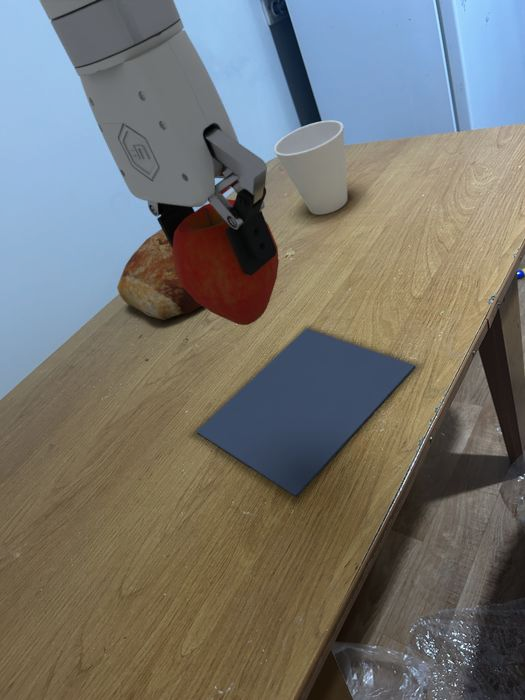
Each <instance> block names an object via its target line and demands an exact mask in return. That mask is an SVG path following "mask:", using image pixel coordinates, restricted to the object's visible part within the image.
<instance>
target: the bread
mask: <svg viewBox="0 0 525 700" xmlns="http://www.w3.org/2000/svg"><path fill="white" fill-rule="evenodd" d="M116 288H117V292H118V294H119V295H120V298H121V299H122V300H123V301H124V303H126V304H128V305H130V306H131V307H133V308H135V309H137V310H138V311H140V312H141V313H144V314H145V315H147V316H148V317H151V318H155V319H159V320H161V321H165V320H168V319H170V318H173V317H175V316H181V315H185V314H188V313H189V314H190V313H191V312H193V311H195V310H197V309H199V308H200V307H203V306H202V305H200V304H199V303H197V302H196V301H195V300H194V299H193V297H192V296H191V295H190V294H189V293H188V292H187V291H186V290H185V289H184V287H183V286H182V284H181V282H180V279H179V277H178V275H177V272H176V267H175V263H174V258H173V254H172V247H171V245H170V243H169V241H168V239H167V237H166V235H165V234H164V232H163V230H162V228H161V229H159V230H158V231H156V232H155V233H154V234H152V235H151V236H149V237H148V238H146V240H145V241H144V242H143V243H141V245H140V246H139V247H138V249H137V250H135V252H134V253H133V254H132V255H131V257H130V258H129V260H127V263H126V264H125V266H124V268H123V271H122V274H121V275H120V279H119V281H118V283H117V287H116Z"/></svg>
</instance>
